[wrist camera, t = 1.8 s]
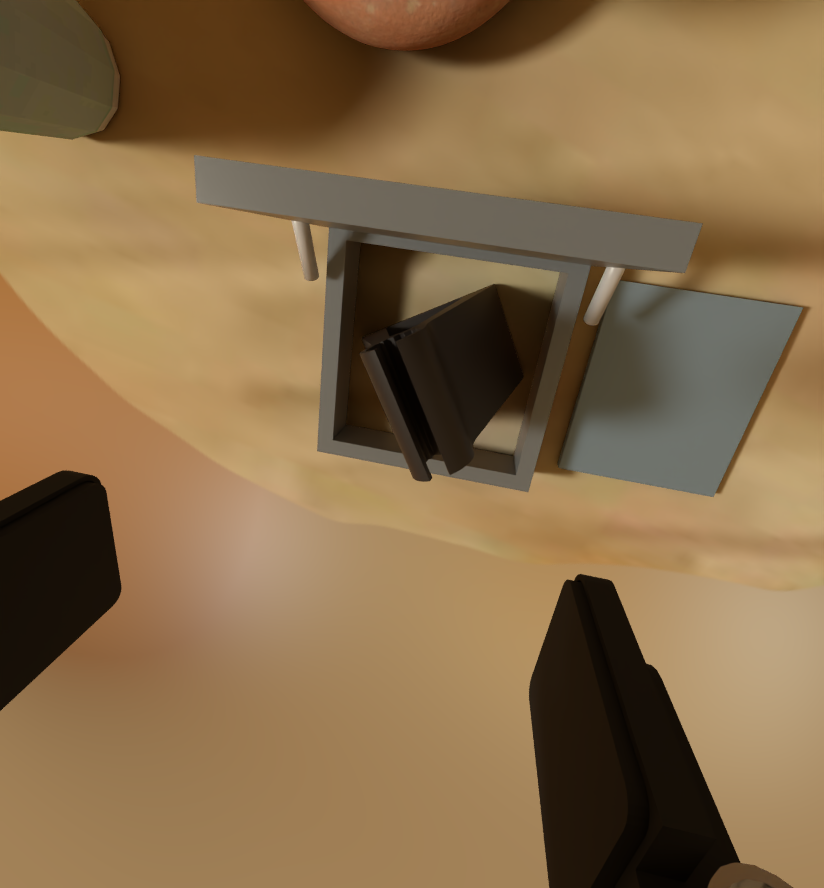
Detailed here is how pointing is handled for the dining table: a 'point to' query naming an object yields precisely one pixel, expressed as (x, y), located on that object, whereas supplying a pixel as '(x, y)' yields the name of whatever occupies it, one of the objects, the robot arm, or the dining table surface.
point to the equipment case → (455, 234)
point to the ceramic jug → (406, 20)
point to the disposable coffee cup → (54, 70)
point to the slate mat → (673, 385)
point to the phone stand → (443, 377)
